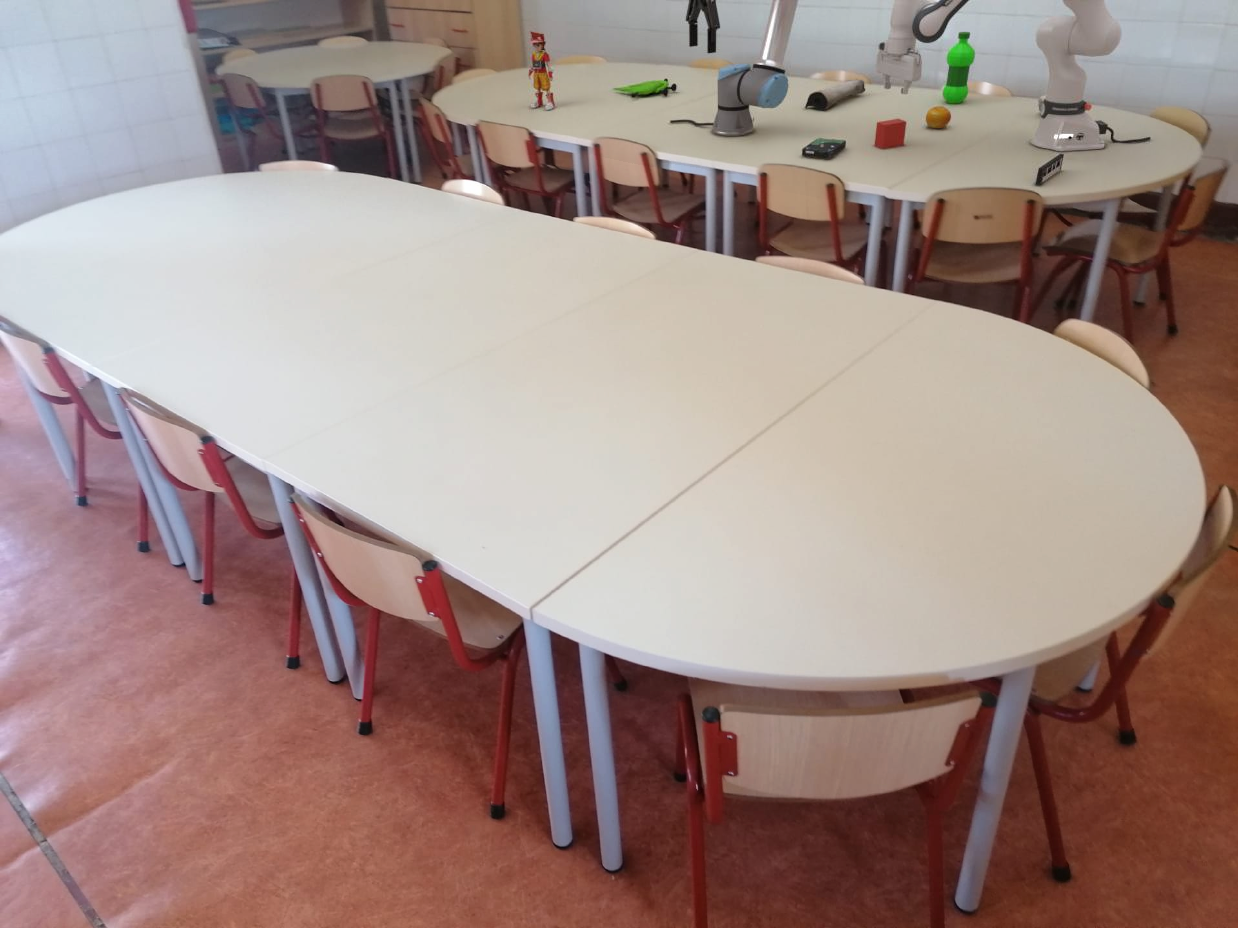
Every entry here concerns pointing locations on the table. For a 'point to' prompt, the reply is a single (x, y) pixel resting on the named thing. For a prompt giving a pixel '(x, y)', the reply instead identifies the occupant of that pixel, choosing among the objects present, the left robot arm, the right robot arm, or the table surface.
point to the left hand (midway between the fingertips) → (702, 49)
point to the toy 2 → (648, 88)
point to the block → (890, 133)
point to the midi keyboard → (1049, 169)
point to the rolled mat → (834, 94)
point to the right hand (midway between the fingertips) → (895, 91)
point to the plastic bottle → (958, 69)
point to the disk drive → (823, 148)
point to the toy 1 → (541, 71)
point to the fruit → (938, 117)
